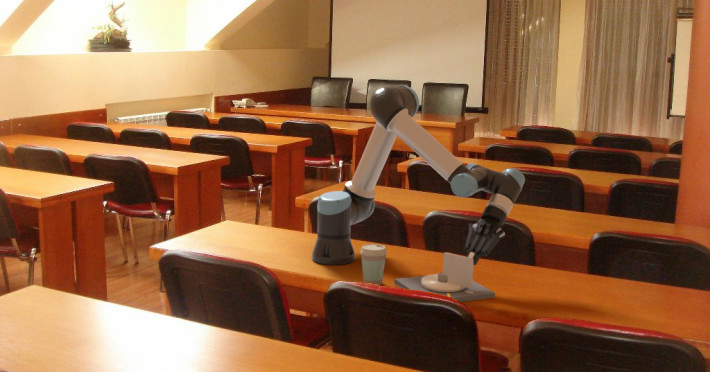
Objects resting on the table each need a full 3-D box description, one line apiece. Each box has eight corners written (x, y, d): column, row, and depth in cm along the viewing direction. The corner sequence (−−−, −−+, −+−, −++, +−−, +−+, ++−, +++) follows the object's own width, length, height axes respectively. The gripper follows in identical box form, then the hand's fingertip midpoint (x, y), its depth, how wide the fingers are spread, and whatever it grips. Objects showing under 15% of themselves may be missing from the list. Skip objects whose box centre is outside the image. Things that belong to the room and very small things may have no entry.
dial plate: (394, 283, 253) (394, 278, 253) (457, 276, 262) (457, 271, 262) (428, 306, 232) (428, 300, 232) (494, 297, 241) (495, 292, 241)
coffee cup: (383, 288, 248) (384, 251, 246) (357, 286, 250) (357, 249, 248) (388, 280, 256) (389, 244, 254) (362, 278, 258) (363, 242, 256)
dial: (412, 284, 246) (413, 252, 244) (439, 275, 257) (440, 244, 255) (457, 297, 235) (458, 263, 233) (483, 287, 245) (484, 254, 243)
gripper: (518, 221, 252) (487, 282, 243) (483, 214, 261) (452, 273, 252) (510, 207, 248) (478, 269, 238) (475, 201, 256) (443, 261, 247)
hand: (465, 271), depth 245 cm, fingers closed
